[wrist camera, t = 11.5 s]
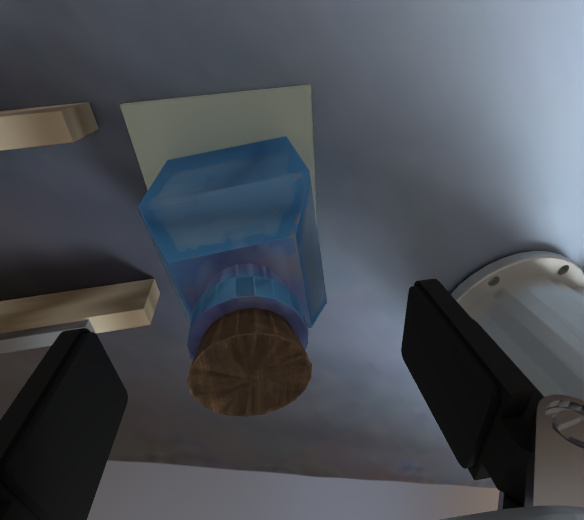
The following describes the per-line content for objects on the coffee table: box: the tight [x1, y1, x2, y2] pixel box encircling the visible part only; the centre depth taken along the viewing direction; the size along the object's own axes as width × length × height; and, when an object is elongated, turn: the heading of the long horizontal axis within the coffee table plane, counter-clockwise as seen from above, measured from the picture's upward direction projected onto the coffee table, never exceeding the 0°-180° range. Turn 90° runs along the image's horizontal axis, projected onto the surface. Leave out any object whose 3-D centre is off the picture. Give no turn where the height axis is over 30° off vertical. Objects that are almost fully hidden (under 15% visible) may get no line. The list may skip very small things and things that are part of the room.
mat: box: [120, 84, 317, 223], centre depth 19 cm, size 9×11×1 cm
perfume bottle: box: [138, 136, 327, 417], centre depth 14 cm, size 6×6×12 cm
